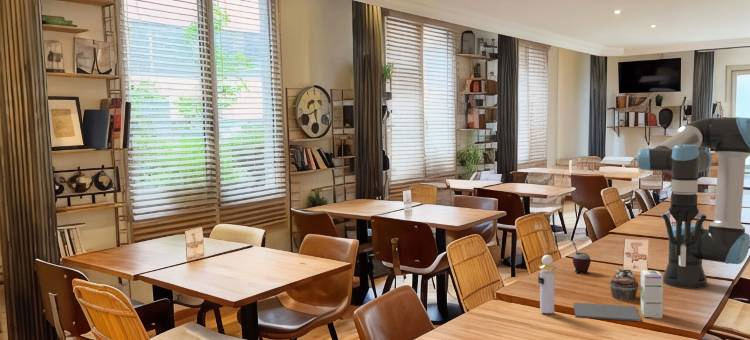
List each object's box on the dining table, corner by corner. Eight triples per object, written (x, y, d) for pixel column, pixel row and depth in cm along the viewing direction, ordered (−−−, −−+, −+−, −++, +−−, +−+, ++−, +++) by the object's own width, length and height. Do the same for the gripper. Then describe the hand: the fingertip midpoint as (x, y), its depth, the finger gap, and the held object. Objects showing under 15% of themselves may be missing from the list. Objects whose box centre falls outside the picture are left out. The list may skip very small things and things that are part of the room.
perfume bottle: (552, 310, 203) (552, 252, 201) (558, 315, 197) (559, 256, 195) (535, 310, 202) (535, 253, 201) (541, 316, 196) (542, 257, 195)
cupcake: (605, 293, 220) (606, 267, 219) (632, 293, 220) (632, 267, 219) (615, 301, 211) (615, 274, 210) (642, 301, 210) (643, 273, 210)
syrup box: (663, 318, 192) (664, 274, 191) (643, 317, 193) (644, 274, 192) (658, 313, 198) (659, 270, 196) (639, 312, 199) (640, 269, 198)
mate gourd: (593, 272, 250) (594, 237, 248) (582, 276, 245) (582, 240, 244) (578, 269, 256) (579, 235, 254) (567, 272, 251) (567, 237, 250)
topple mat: (634, 308, 203) (634, 306, 203) (641, 321, 190) (641, 319, 190) (573, 304, 209) (573, 302, 209) (575, 317, 195) (575, 315, 195)
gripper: (703, 192, 191) (701, 263, 193) (659, 191, 195) (657, 261, 197) (710, 194, 184) (707, 269, 186) (664, 193, 188) (662, 267, 190)
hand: (682, 265), depth 191 cm, fingers closed
